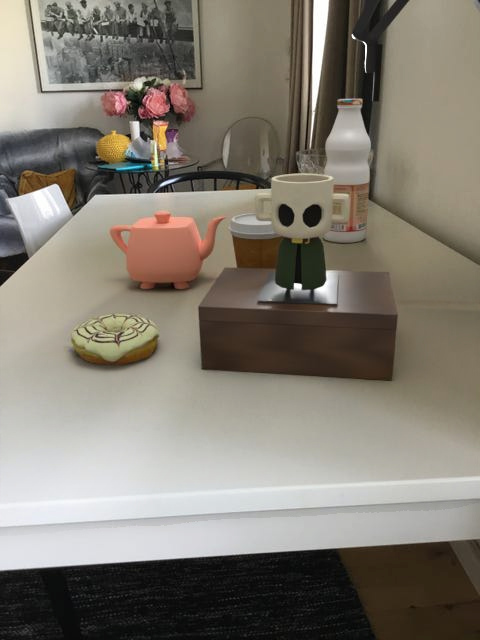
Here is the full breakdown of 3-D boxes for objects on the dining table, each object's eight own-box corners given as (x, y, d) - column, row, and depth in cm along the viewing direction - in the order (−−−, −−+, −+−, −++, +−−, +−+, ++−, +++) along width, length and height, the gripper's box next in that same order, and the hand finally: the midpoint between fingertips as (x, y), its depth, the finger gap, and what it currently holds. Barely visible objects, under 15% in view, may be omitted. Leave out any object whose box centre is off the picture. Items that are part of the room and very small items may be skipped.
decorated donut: (118, 378, 66) (114, 348, 64) (56, 357, 71) (52, 329, 70) (175, 344, 74) (173, 318, 72) (116, 328, 79) (113, 303, 78)
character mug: (251, 294, 67) (249, 182, 62) (261, 275, 73) (260, 172, 68) (344, 298, 65) (350, 183, 60) (346, 278, 71) (351, 173, 66)
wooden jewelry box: (384, 327, 77) (389, 270, 74) (392, 380, 63) (398, 312, 60) (226, 320, 81) (224, 265, 78) (201, 369, 67) (197, 304, 64)
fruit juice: (325, 244, 118) (330, 100, 107) (318, 233, 126) (322, 99, 116) (370, 243, 118) (379, 98, 107) (360, 232, 126) (368, 97, 116)
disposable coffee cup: (246, 279, 98) (244, 210, 93) (298, 286, 94) (299, 214, 89) (220, 297, 90) (217, 222, 85) (275, 305, 86) (275, 227, 81)
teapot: (105, 292, 93) (96, 220, 89) (124, 270, 104) (117, 205, 100) (226, 292, 92) (223, 219, 87) (232, 270, 103) (230, 204, 98)
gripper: (336, -105, 62) (329, 103, 70) (584, -126, 58) (547, 98, 66) (337, -86, 69) (331, 101, 77) (560, -104, 64) (528, 96, 72)
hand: (430, 100), depth 71 cm, fingers open, 13 cm apart
